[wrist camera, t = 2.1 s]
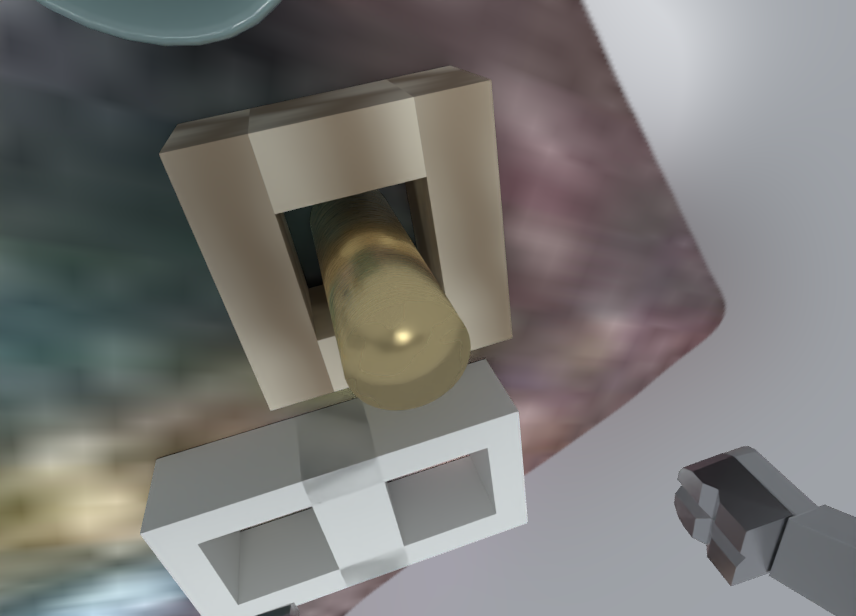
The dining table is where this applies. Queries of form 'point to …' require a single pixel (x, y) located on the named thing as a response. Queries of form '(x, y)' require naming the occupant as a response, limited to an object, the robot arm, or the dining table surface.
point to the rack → (336, 497)
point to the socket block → (332, 179)
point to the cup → (166, 18)
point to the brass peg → (386, 306)
